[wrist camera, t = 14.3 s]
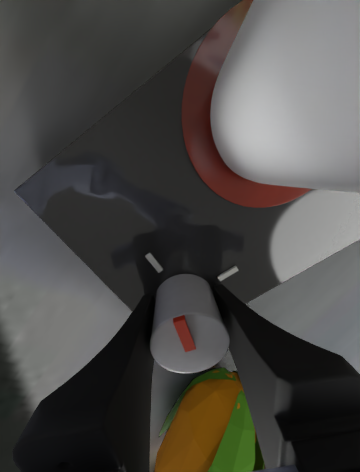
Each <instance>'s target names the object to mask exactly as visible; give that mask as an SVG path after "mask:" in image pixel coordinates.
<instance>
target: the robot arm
mask: <svg viewBox="0 0 360 472" xmlns="http://www.w3.org/2000/svg"><path fill="white" fill-rule="evenodd" d="M214 295H215V298H216V301H217V303H218V306H219V308H220V311H221V314H222V316H223V319H224V322H225V324H226V327H227V329H228V332H229V336H230V343H229V350H230V352H231V355H232V357H233V360H234V362H235V365H236V368H237V371H238V374H239V377H240V381H241V384H242V387H243V390H244V394H245V397H246V400H247V404H248V407H249V410H250V414H251V417H252V421H253V424H254V428H255V431H256V435H257V438H258V442H259V445H260V449H261V453H262V456H263V460H264V463H265V467H266V469H263V470H257V471H251V472H360V374H359V373H358V372H357V371H356V370H355V369H354V368H353V367H352V366H351V365H350V364H349V363H348V362H347V361H346V360H345V359H344V358H343V357H342V356H340V355H338V354H335V353H333V352H330V351H328V350H325V349H323V348H320V347H318V346H315V345H313V344H311V343H309V342H307V341H304V340H302V339H300V338H298V337H296V336H294V335H292V334H290V333H288V332H286V331H285V330H283V329H281V328H279V327H277V326H276V325H274V324H272V323H271V322H269V321H268V320H266V319H264V318H263V317H261V316H260V315H258V314H257V313H256V312H254V311H253V310H252V309H250V308H249V307H248V306H247V305H245V304H244V303H243V302H242V301H241V300H239V299H238V298H237V297H236V296H235V295H234V294H233V293H232V292H231V291H230V290H228V289H227V288H226V287H225V286H224V285H223V284H220V285H214ZM153 309H154V299H153V294H150V295H143V297H142V298H141V300H140V301H139V303H138V304H137V306H136V308H135V309H134V311H133V312H132V314H131V315H130V316H129V318H128V319H127V321H126V322H125V323H124V325H123V326H122V327H121V329H120V330H119V331H118V332H117V334H116V335H115V336H114V337H113V338H112V340H111V341H110V342H109V343H108V344H107V345H106V346H105V347H104V348H103V349H102V350H101V351H100V352H99V353H98V354H97V355H96V356H95V357H94V358H93V359H92V360H91V361H90V362H89V363H88V364H87V365H86V366H84V367H83V368H82V369H81V370H80V371H79V372H78V373H76V374H75V375H74V376H73V377H72V378H70V379H69V380H68V381H67V382H66V383H64V384H63V385H62V386H60V387H59V388H58V389H56V390H55V391H54V392H53V393H51V394H50V395H49V396H47V397H46V398H45V399H43V400H42V401H41V402H40V403H39V405H38V407H37V408H36V410H35V411H34V413H33V415H32V417H31V418H30V420H29V422H28V424H27V425H26V427H25V429H24V431H23V433H22V434H21V436H20V438H19V440H18V441H17V443H16V445H15V447H14V449H13V451H12V452H13V461H14V462H15V464H16V466H17V467H18V468H19V469H20V470H21V472H149V451H150V413H151V388H152V373H153V365H154V358H153V356H152V354H151V351H150V335H151V327H152V318H153Z"/></svg>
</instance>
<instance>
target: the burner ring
mask: <svg viewBox="0 0 360 472" xmlns="http://www.w3.org/2000/svg"><path fill="white" fill-rule="evenodd" d="M252 2H253V0H242V1H241V2H240V3H238V4H237V5H235V6H234V7H233V8H231V9H230V10H229V11H228V12H227V13H226V14H224V15H223V16H222V17H221V18H220V19H219V20H218V21H217V22H216V24H215V25H214V26H213V27H212V29H211V30H210V31H209V32H208V34H207V35H206V37H205V38H204V40H203V42H202V43H201V45H200V46H199V48H198V50H197V52H196V54H195V57H194V59H193V61H192V63H191V66H190V69H189V72H188V75H187V78H186V82H185V87H184V91H183V98H182V107H181V124H182V132H183V139H184V143H185V147H186V150H187V153H188V156H189V159H190V161H191V163H192V165H193V167H194V169H195V171H196V172H197V174H198V175H199V177H200V178H201V179H202V181H203V182H204V183H205V184H206V185H207V186H208V187H209V188H210V189H211V190H212V191H213V192H215V193H216V194H217V195H219V196H220V197H222V198H224V199H225V200H228V201H230V202H232V203H235V204H238V205H241V206H245V207H254V208H265V207H272V206H277V205H280V204H284V203H287V202H289V201H292V200H294V199H296V198H298V197H300V196H302V195H303V194H305V193H307V192H308V191H309V190H311V189H310V188H299V187H289V186H279V185H270V184H262V183H258V182H254V181H251V180H248V179H245V178H243V177H241V176H239V175H238V174H236V173H235V172H233V171H232V170H231V169H230V168H229V167H228V166H227V165H226V164H225V162H224V161H223V159H222V158H221V156H220V154H219V152H218V150H217V148H216V145H215V142H214V139H213V135H212V130H211V120H210V110H211V100H212V95H213V90H214V87H215V83H216V80H217V77H218V75H219V72H220V70H221V68H222V65H223V63H224V61H225V59H226V57H227V55H228V53H229V50H230V48H231V46H232V44H233V42H234V40H235V38H236V36H237V34H238V31H239V29H240V27H241V25H242V23H243V21H244V19H245V17H246V15H247V13H248V11H249V8H250V6H251V4H252Z"/></svg>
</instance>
